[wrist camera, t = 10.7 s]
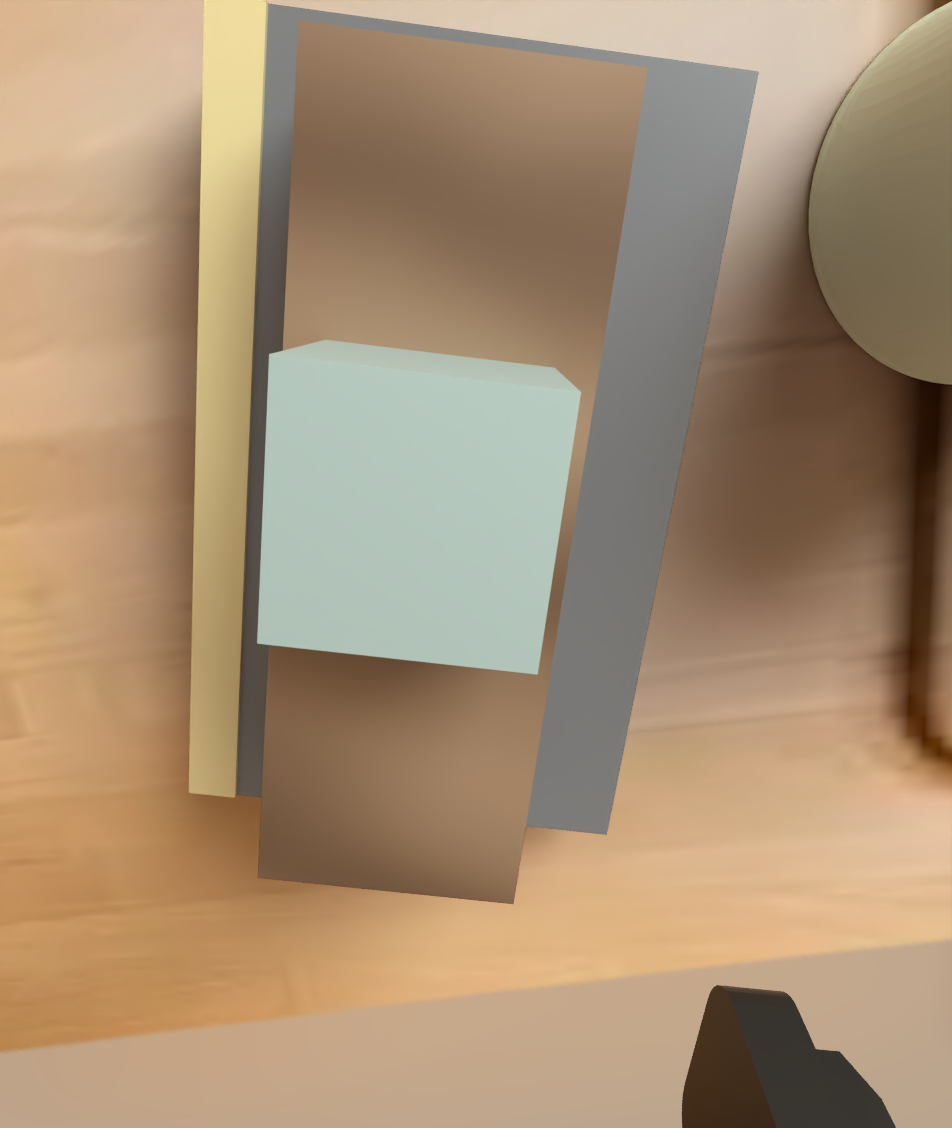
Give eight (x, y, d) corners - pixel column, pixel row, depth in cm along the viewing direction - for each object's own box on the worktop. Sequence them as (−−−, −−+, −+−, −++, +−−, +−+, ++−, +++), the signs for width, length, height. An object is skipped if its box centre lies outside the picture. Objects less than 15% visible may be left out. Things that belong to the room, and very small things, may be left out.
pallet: (339, 84, 17) (298, 19, 13) (609, 120, 17) (647, 67, 13) (297, 775, 22) (257, 877, 18) (507, 797, 22) (513, 904, 18)
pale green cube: (325, 339, 14) (269, 354, 11) (555, 367, 14) (581, 391, 11) (312, 559, 16) (257, 643, 12) (523, 583, 16) (537, 674, 12)
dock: (258, 53, 20) (204, -8, 16) (707, 114, 20) (761, 69, 16) (233, 716, 25) (188, 793, 22) (588, 755, 26) (607, 838, 22)
